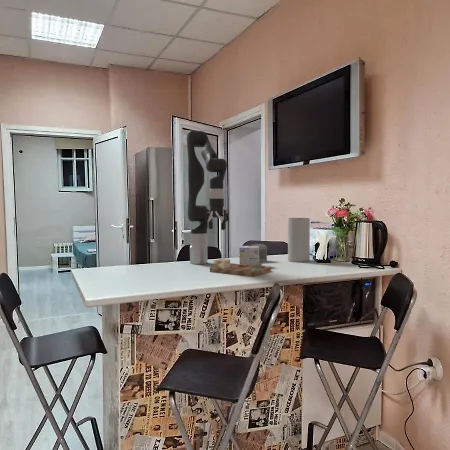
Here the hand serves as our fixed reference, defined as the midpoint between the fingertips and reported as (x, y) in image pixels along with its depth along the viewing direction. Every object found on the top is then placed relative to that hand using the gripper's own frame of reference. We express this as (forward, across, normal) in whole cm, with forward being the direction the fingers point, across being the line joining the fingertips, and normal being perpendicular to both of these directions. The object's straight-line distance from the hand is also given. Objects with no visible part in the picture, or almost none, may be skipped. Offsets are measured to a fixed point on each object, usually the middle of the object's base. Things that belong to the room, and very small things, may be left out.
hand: (216, 229), depth 204 cm
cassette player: (+21, -2, +34) cm, 40 cm away
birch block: (+19, +5, -2) cm, 20 cm away
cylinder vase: (+21, +17, +52) cm, 59 cm away
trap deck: (+21, +13, +4) cm, 25 cm away
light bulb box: (+21, +6, +20) cm, 30 cm away
